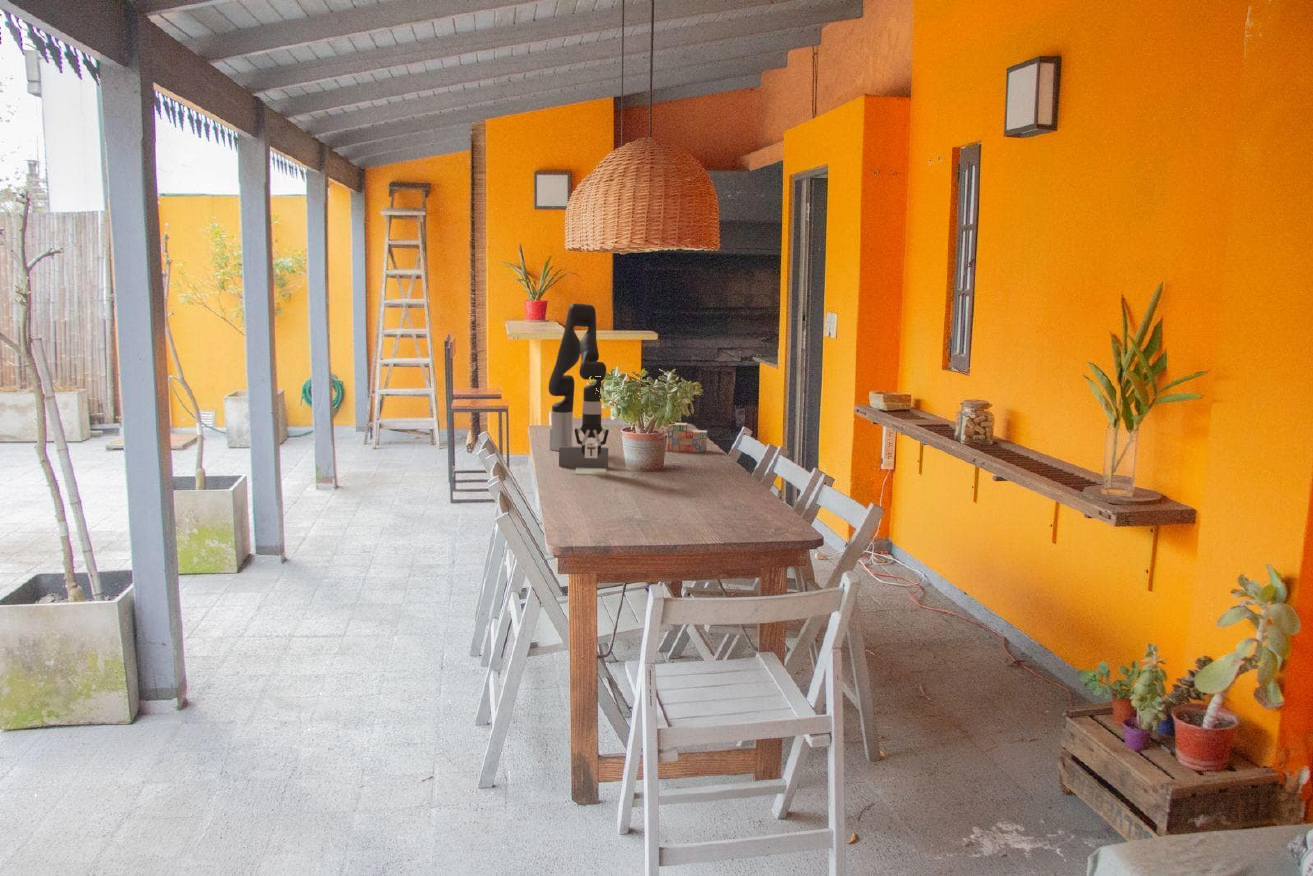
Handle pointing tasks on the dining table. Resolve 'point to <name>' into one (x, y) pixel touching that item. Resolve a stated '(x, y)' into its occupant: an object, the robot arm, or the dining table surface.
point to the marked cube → (591, 450)
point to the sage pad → (590, 471)
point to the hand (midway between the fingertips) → (591, 454)
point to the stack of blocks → (686, 439)
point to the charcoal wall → (581, 457)
